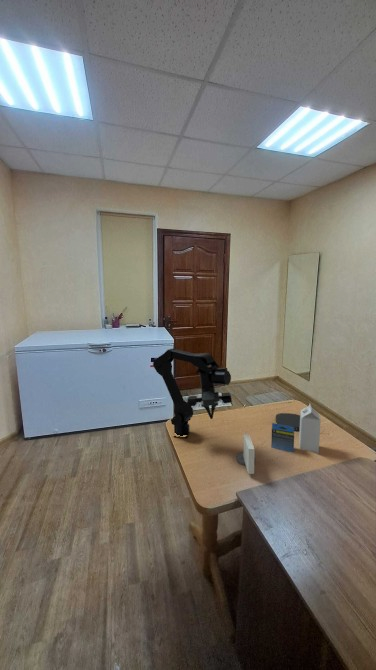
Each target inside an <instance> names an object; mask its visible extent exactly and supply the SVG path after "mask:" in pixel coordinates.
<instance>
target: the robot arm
mask: <svg viewBox="0 0 376 670" xmlns="http://www.w3.org/2000/svg"><path fill="white" fill-rule="evenodd" d="M174 360H178V361H182V362H185V363H190V364H191V365H193V366H194V367H195V368H197V369H196V370H195V372H194V373H195V374H199V380H200V387H201V388H200V389H201V397H197V395H189V396H188V397H187V400H184V397H183V395H182V392H181V390H180V388H179V386H178V383H177V381H176V379H175V376H174V375H173V364H172V362H174ZM152 366H153V367H154V370H155V371H156V373H157V374H158V375H159V376H161V378H162V379H163V382H164V384H165V386H166V388H167V391H168V393H169V396H170V398H171V400H172V402H173V413H174V416H173V417H172V418H171V419H170V422H171V425H173V426H174V427H173V428H174V430H173V431H174V433H176V434H177V435H180V436H183V435H188V436H189V434H190V430H191V429H190V424H189V421H191V418H193V417H194V408H193V407H195V406H196V405H197V404H198V403H200V405H201V408H204V409H205V410H206V412H207V414H208V416H209V418H210V420H213V417H214V413H215V410H216V407H217V406H219V402H220V401H221V402H222V403H224V404H231V403H232V402H233V400H232V395H231V392H222V393H221V395H219V392H216V389H215V385H222V386H228V385H230V383H231V380H232V374H231V373H230V371H229V370H228V368H227V367H220V366H219V364H218V363H217V362H216V360H215V359H214V357H213V355H212V354H211V353H209V352H202V353H194V352H190V351H186V350H180V349H177V348H169V349H167V350H166V351H164V353H162V354H161V355H160V356H158V357H157V358H156V357H155V359H154V360H153V362H152ZM210 406H211V407H210ZM174 433H173V434H174Z"/></svg>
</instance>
